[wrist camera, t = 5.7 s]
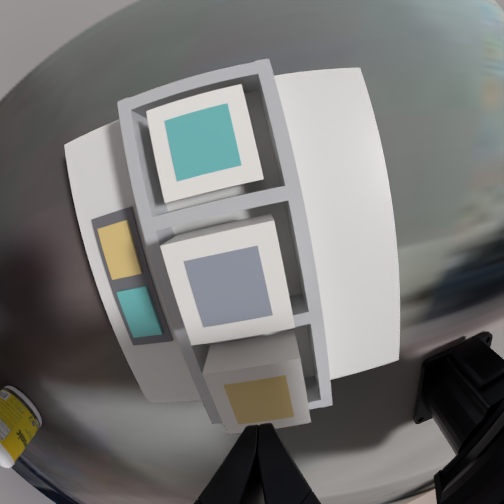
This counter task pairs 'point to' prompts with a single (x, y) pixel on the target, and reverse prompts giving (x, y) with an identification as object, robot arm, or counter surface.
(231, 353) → the key
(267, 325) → the key mid
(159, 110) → the key
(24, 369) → the counter surface
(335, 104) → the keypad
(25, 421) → the supplement bottle
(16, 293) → the counter surface
